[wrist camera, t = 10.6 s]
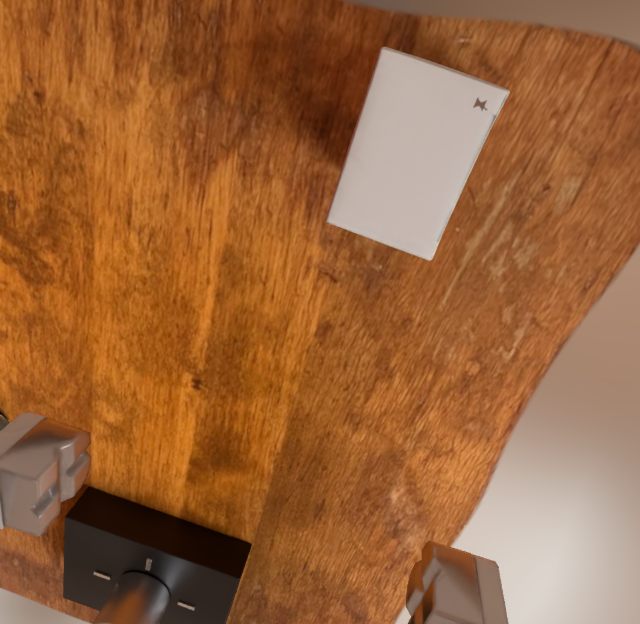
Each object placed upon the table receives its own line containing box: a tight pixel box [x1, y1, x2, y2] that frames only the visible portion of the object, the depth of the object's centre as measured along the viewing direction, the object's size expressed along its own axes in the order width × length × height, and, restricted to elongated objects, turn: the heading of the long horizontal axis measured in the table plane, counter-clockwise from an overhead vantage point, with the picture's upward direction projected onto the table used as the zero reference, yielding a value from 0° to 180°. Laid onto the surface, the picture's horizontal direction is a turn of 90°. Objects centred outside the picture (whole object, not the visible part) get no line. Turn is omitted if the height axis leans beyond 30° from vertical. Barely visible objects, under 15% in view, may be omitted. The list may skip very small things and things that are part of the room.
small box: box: [325, 47, 509, 260], centre depth 19 cm, size 6×4×8 cm
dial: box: [93, 572, 170, 624], centre depth 36 cm, size 4×4×4 cm
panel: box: [63, 487, 252, 624], centre depth 39 cm, size 14×11×3 cm
